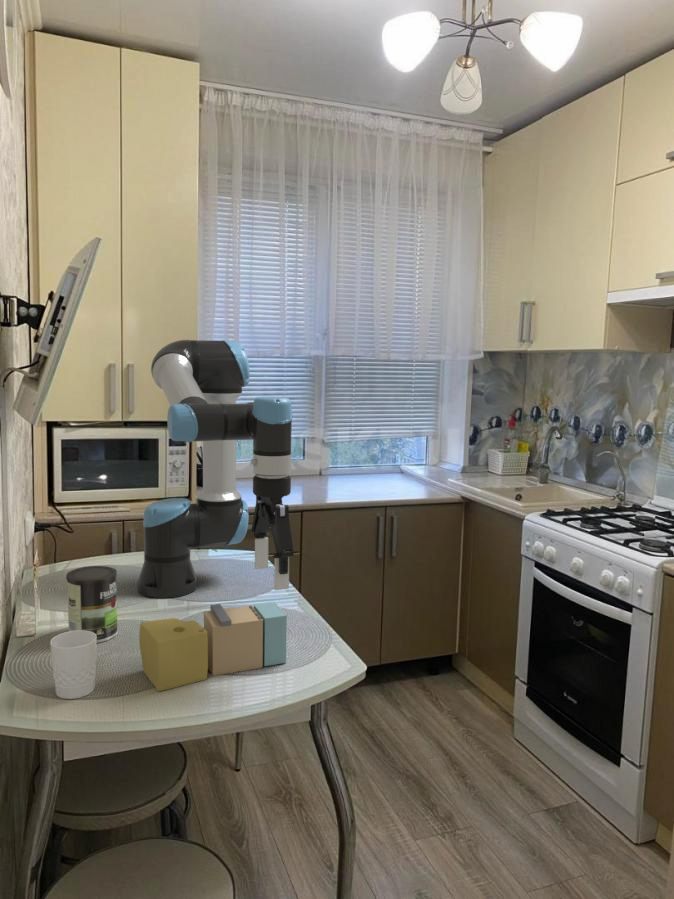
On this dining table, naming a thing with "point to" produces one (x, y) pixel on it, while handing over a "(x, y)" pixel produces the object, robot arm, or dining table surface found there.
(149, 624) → the cheese
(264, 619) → the light blue box
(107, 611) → the coffee can
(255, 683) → the dining table surface
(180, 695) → the dining table surface
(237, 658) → the slotted tan box
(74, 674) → the white cup
